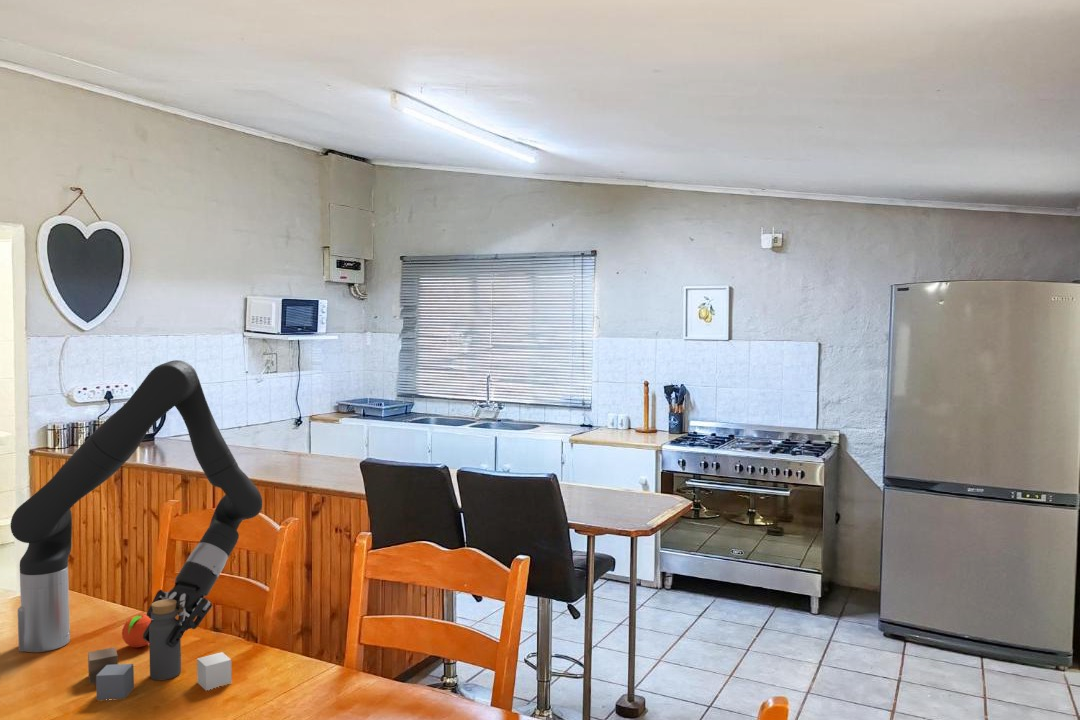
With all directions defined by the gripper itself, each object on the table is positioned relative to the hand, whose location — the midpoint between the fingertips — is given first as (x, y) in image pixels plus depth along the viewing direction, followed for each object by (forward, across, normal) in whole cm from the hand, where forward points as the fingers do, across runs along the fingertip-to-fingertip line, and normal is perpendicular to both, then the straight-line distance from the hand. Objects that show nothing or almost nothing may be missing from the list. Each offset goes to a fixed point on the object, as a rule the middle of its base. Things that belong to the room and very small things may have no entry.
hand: (158, 642), depth 167 cm
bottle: (+4, 0, +6) cm, 8 cm away
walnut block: (+8, -10, +2) cm, 14 cm away
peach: (-1, -17, +12) cm, 21 cm away
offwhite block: (+3, +12, +7) cm, 14 cm away
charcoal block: (+11, -2, -1) cm, 12 cm away
